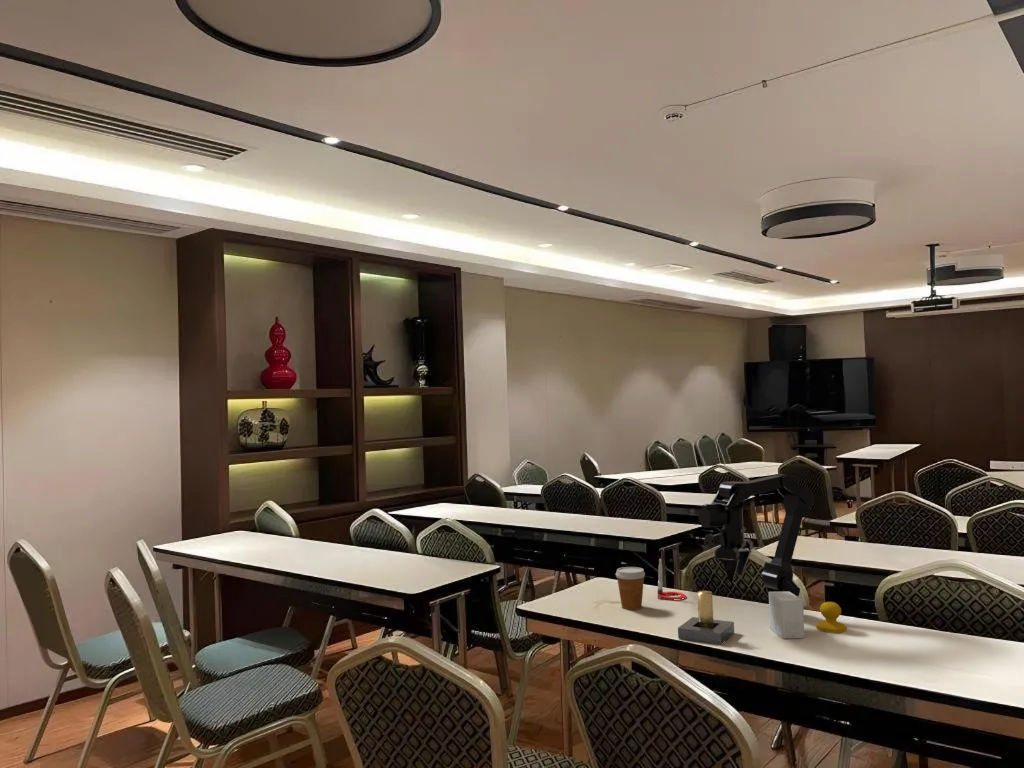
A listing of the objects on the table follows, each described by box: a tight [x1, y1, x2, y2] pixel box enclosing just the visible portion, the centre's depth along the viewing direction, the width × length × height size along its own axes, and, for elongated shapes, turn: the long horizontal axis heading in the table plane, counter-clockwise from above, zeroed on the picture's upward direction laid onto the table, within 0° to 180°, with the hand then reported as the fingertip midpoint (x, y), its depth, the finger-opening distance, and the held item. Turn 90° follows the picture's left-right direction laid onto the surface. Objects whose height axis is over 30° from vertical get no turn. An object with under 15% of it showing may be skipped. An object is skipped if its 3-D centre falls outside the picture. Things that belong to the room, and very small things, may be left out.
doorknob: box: [815, 601, 848, 634], centre depth 214 cm, size 8×8×8 cm
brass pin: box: [697, 590, 714, 629], centre depth 212 cm, size 4×4×12 cm
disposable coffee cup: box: [615, 566, 646, 611], centre depth 245 cm, size 10×10×12 cm
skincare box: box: [768, 592, 805, 640], centre depth 212 cm, size 10×6×10 cm, turn 0°
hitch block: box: [677, 616, 735, 646], centre depth 212 cm, size 12×12×3 cm
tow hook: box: [657, 558, 687, 601], centre depth 255 cm, size 8×13×9 cm
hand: (735, 578), depth 223 cm, fingers open, 9 cm apart
